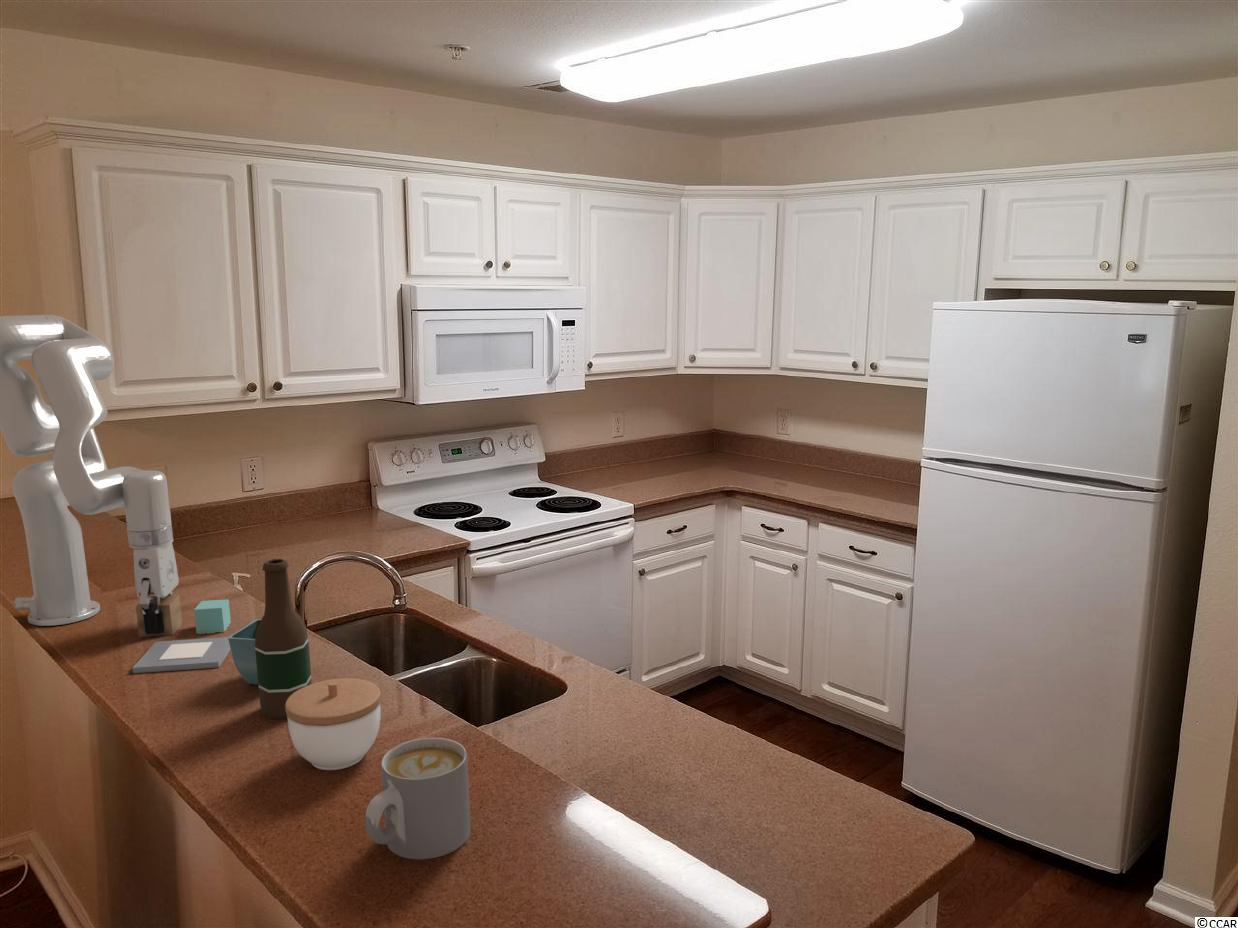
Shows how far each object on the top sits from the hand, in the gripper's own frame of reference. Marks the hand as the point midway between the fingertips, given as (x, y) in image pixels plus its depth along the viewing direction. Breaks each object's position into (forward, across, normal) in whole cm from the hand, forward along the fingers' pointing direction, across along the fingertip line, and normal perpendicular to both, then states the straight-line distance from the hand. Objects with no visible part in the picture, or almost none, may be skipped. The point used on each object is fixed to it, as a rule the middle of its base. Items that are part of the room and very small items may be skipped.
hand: (160, 625), depth 179 cm
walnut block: (+1, 0, 0) cm, 1 cm away
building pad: (+1, -15, -9) cm, 17 cm away
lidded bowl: (+1, -57, -41) cm, 70 cm away
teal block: (+1, -1, -10) cm, 10 cm away
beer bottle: (+1, -40, -31) cm, 51 cm away
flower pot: (+1, -28, -26) cm, 38 cm away
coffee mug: (+1, -79, -53) cm, 95 cm away
